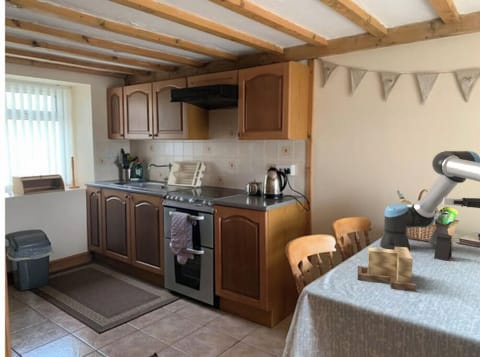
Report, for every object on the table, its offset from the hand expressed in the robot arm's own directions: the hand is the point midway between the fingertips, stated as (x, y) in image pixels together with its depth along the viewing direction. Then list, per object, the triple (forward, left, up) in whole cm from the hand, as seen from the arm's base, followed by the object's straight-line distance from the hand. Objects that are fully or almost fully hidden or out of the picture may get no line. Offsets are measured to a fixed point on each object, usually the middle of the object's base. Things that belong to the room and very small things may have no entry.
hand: (443, 201), depth 147 cm
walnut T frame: (+19, -8, -34) cm, 40 cm away
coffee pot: (-43, -48, -34) cm, 74 cm away
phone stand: (-27, -28, -34) cm, 52 cm away
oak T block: (+18, -8, -34) cm, 39 cm away
